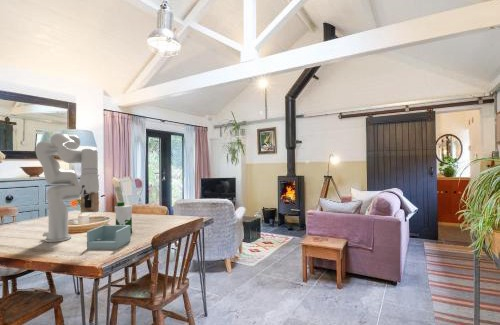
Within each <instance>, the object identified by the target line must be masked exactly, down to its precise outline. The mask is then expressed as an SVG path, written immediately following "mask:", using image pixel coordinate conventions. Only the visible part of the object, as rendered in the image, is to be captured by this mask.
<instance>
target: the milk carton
mask: <svg viewBox="0 0 500 325" xmlns="http://www.w3.org/2000/svg"><path fill="white" fill-rule="evenodd" d="M133 206H134V205H133V204H132V205H131V204H130V205H129V204H125V202H121V201H120V202H119V201H118V202H117V204H116V205H115V206H114V213H115V225H131V234H133V219H132V218H133V213H132V212H133V208H134V207H133Z"/></svg>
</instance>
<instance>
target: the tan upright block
mask: <svg viewBox="0 0 500 325" xmlns="http://www.w3.org/2000/svg"><path fill="white" fill-rule="evenodd" d="M99 192H100V191H98V192H96V193H92V194H90V200H91V208H85V200H84V198H83V197H82V196H81V197H80V213H98V212H99V211H100V209H99V208H100V203H99V202H100V201H99V194H100V193H99ZM86 194H87V193H86ZM87 196H88V195H87Z"/></svg>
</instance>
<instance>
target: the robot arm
mask: <svg viewBox="0 0 500 325" xmlns="http://www.w3.org/2000/svg"><path fill="white" fill-rule="evenodd" d="M80 146H81V140H80V138H79V136H77V135H76V134H69V133H68V134H67V133H55V134H53V135H52V136H51V137H50V140H44V141H39V142H37V144H36V145H35V155H36V158H37V160H38V161H39V163H40V165H41V166H42V170H43V171H42V172H43V173H44V174H43V175H44V178H45V181H46V183H47V185H49V186H51V187H49V188H47V190H46V194H45V195H46V200H47V205H48V209H47V211H48V213H47V214H48V221H47V222H48V223H47V224H48V232H46V231H45V232H43V233H42V237H46V238H45V239H44V241H45V242H46V243H60V242H64V241H68V240H70V239H72V235H70V234H69V208H68V205H67V204H65V202H70V201H71V202H72V201H77V200H81V196H82V197H83V198H84V200H85V208H91V200H90V194H92V193H96V192H100V182H99V181H100V180H99V173H98V172H99V170H98V168H99V163H98V162H99V161H98V160H99V157H98V153H99V152H98V150H97V149H96V148H83V149H82V148H80ZM79 148H80V149H79ZM54 156H58V158H59V159H60V160H62V161H63V162H65V163H67V164H81V166H80V172H81V173H80V177H78V174H77V173H76V172H75V171H74V170H73V169H62V168H61V166H60V162H59V161H58V160H57V159H56V158H54ZM86 193H87V194H86ZM87 195H88V196H87Z"/></svg>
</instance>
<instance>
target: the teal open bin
mask: <svg viewBox="0 0 500 325" xmlns="http://www.w3.org/2000/svg"><path fill="white" fill-rule="evenodd" d="M131 234H132V233H131V225H116V224H115V225H113V224H105V225H104V224H103V225H100V226H98V227H96V228H92V229H90V230H87V231H86V249H87V250H117V249H119V248H121V247H123V246H124V245H126V244H127V243H130V242H131Z"/></svg>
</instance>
